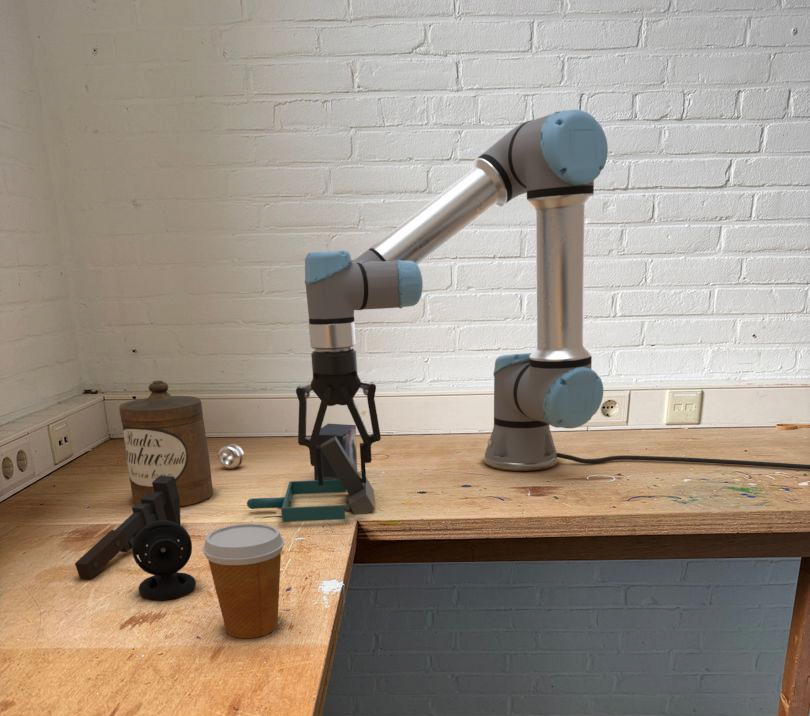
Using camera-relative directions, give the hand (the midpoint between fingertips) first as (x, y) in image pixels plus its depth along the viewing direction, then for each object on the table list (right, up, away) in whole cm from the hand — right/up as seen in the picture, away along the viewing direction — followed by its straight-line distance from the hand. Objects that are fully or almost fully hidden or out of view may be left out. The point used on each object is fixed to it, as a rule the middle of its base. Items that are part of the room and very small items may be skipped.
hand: (342, 481), depth 141 cm
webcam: (-21, -17, -31) cm, 42 cm away
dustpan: (-8, -5, +1) cm, 10 cm away
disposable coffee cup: (-8, -21, -43) cm, 48 cm away
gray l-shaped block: (+4, -4, +2) cm, 6 cm away
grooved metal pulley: (-26, +5, +32) cm, 42 cm away
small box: (-3, +2, +21) cm, 21 cm away
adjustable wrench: (-31, -12, -16) cm, 37 cm away
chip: (+1, -3, +4) cm, 5 cm away
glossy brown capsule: (+1, -5, -1) cm, 5 cm away
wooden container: (-33, -2, +12) cm, 35 cm away
